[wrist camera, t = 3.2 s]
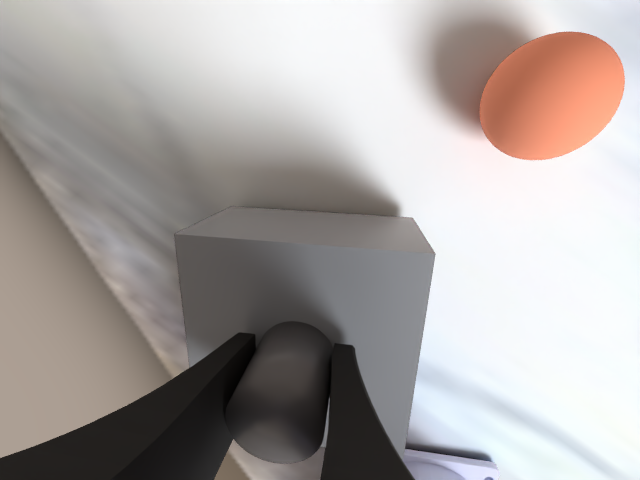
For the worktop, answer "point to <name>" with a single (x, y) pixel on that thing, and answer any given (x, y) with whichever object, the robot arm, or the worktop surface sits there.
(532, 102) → the ball
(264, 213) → the grey block
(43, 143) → the worktop surface
